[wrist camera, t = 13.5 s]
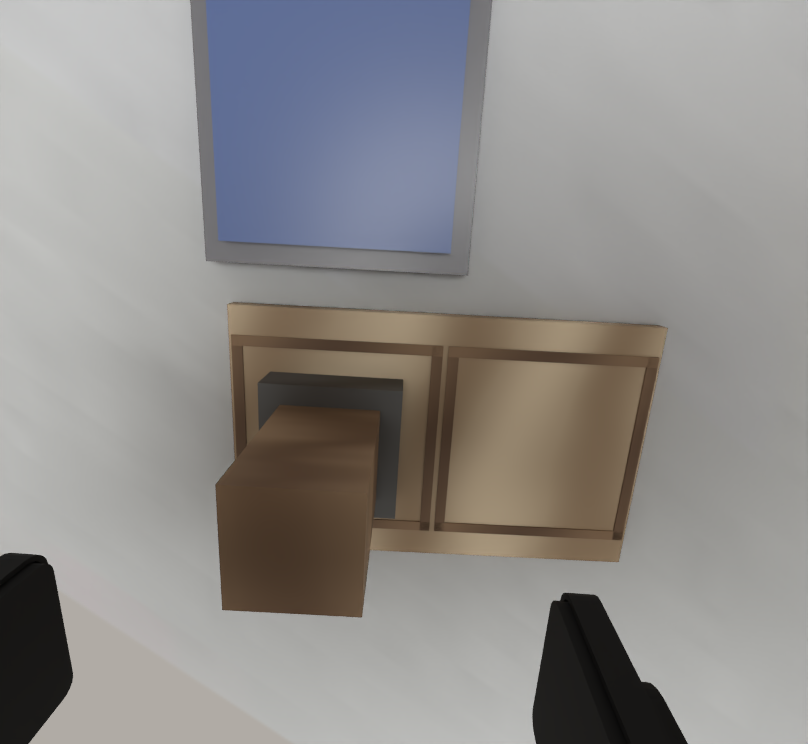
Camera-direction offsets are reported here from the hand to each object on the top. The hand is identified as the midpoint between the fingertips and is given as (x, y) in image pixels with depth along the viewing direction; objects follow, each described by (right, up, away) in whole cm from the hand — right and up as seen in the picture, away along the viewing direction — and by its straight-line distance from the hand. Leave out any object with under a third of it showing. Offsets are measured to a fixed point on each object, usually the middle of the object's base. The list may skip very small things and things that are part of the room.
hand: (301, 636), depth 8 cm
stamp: (-1, +2, +9) cm, 10 cm away
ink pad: (0, +13, +7) cm, 15 cm away
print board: (+3, +2, +10) cm, 11 cm away
